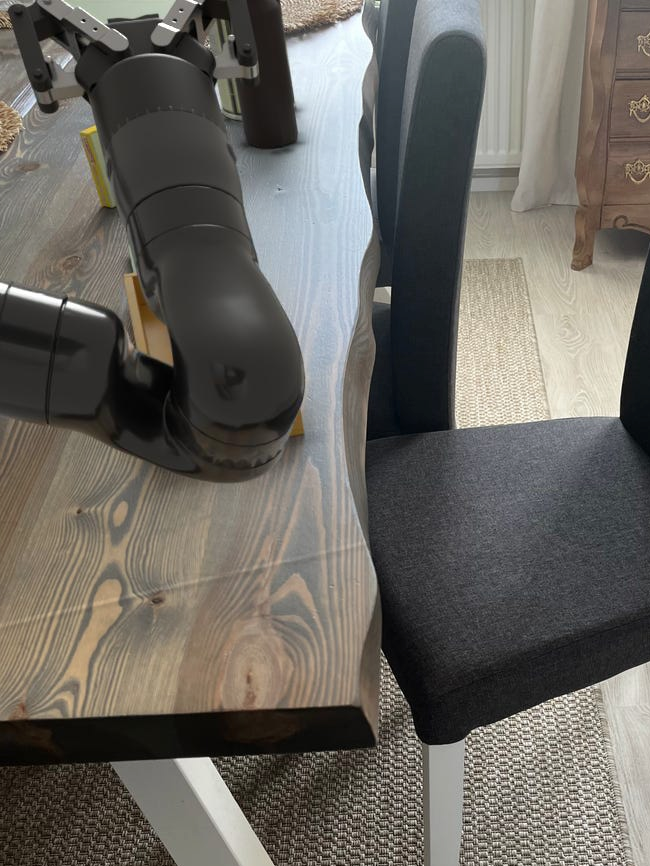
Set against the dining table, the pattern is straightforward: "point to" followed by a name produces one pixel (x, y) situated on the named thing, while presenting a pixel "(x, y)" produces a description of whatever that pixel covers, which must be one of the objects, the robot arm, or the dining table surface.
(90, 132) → the candy box
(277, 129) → the bottle
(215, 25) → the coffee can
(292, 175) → the dining table surface
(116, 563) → the dining table surface
